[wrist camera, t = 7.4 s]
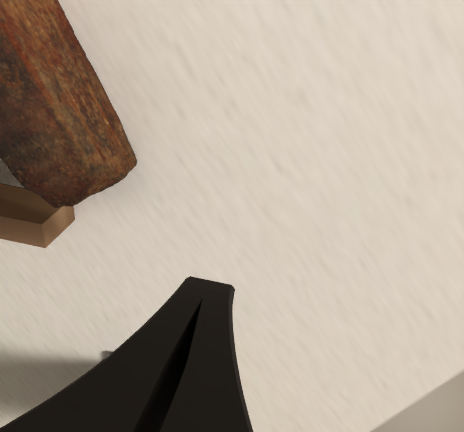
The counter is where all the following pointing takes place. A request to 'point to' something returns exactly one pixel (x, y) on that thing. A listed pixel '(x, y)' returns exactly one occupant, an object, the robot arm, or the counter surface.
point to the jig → (31, 217)
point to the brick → (55, 108)
